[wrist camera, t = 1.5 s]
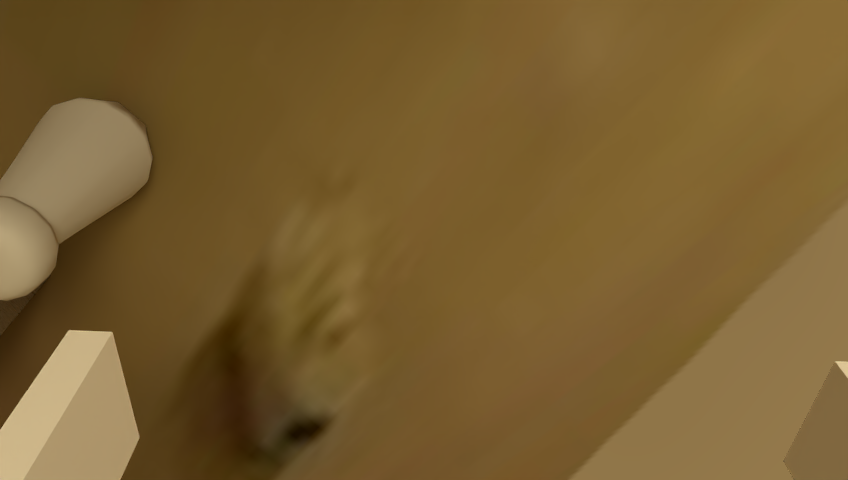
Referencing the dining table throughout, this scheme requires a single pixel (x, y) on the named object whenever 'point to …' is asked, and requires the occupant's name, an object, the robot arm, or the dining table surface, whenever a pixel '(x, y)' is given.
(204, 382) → the dining table surface
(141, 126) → the salt shaker
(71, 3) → the dining table surface
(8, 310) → the block
